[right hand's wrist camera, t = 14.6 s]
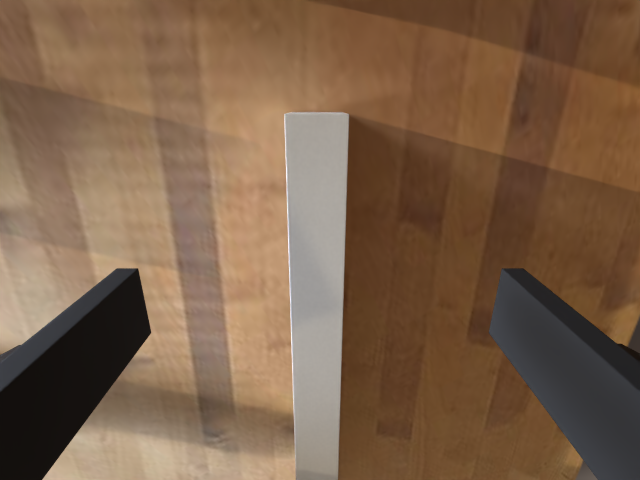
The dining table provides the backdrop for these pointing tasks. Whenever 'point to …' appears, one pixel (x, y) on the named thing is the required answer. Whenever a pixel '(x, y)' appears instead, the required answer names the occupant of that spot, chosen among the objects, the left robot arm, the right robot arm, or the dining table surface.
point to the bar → (316, 283)
